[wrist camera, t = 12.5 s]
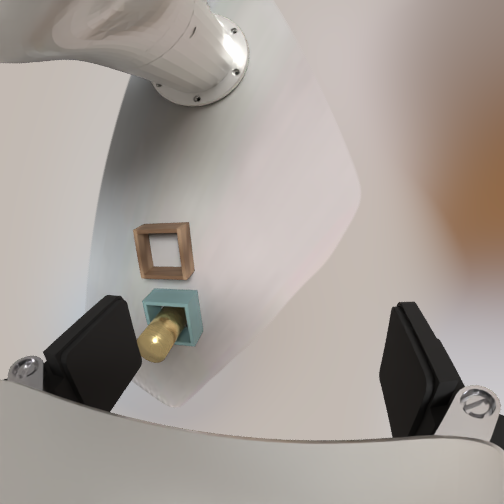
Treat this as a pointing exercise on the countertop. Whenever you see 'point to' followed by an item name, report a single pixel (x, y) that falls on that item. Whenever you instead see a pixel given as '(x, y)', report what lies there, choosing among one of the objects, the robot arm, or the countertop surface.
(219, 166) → the countertop surface
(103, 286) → the countertop surface
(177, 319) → the gold domed peg
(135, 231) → the socket block
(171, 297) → the block
